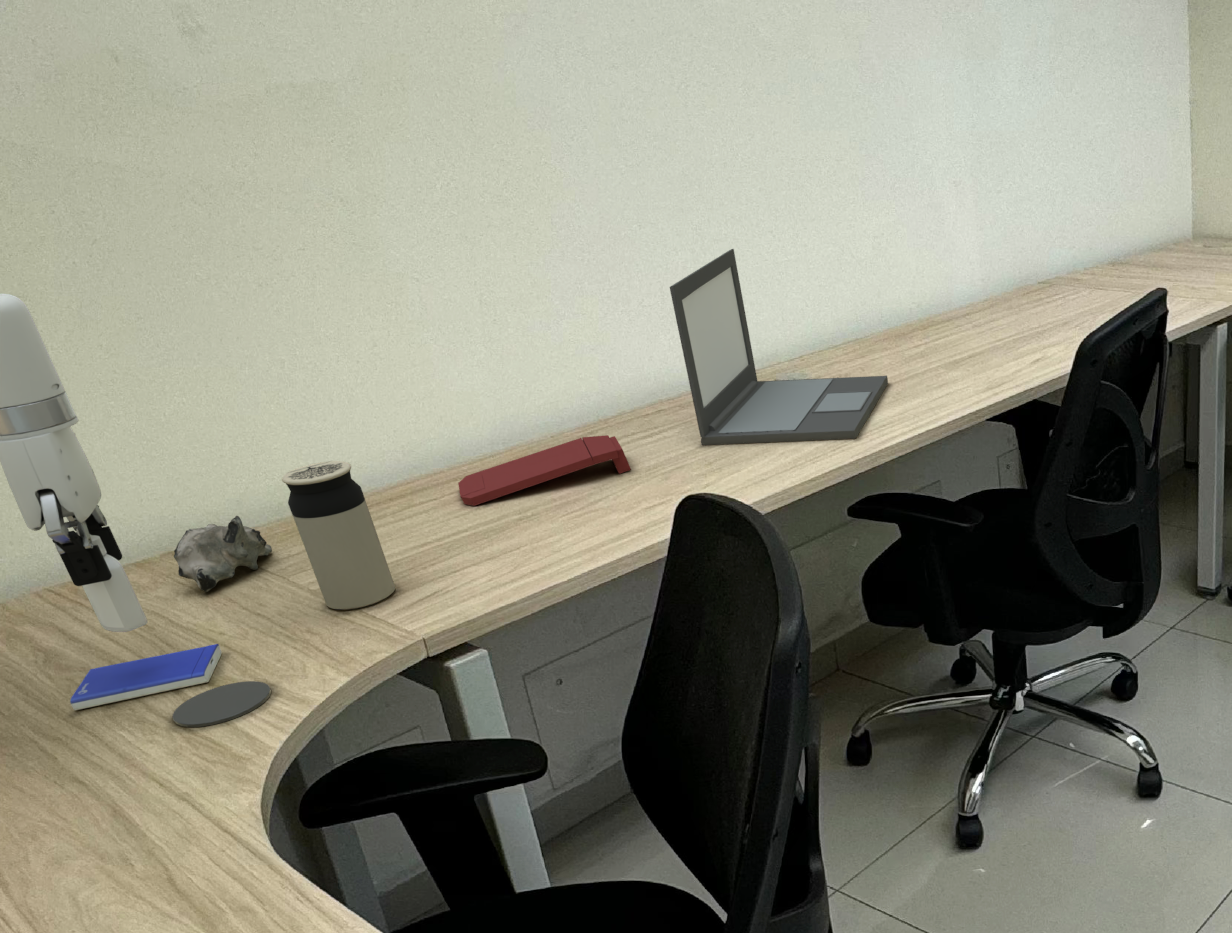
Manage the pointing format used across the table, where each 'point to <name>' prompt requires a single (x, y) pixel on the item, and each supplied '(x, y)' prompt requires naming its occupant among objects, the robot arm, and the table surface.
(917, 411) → the table surface
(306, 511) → the travel mug
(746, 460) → the table surface
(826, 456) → the table surface
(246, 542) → the decorative stone
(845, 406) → the laptop
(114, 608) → the eye dropper bottle
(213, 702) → the slate coaster
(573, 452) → the red hooked bar
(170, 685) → the hard drive
